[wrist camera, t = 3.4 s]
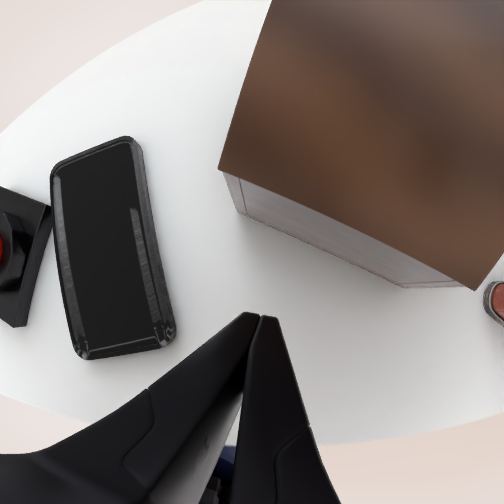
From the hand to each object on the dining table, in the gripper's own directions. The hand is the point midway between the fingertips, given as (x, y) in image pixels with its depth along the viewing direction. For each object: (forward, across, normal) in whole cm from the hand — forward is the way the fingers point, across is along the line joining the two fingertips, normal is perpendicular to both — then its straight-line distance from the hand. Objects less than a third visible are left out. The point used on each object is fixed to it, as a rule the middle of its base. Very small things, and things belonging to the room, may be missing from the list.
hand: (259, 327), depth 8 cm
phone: (+11, +13, +6) cm, 17 cm away
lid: (+6, -4, -6) cm, 10 cm away
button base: (+8, +22, +7) cm, 25 cm away
